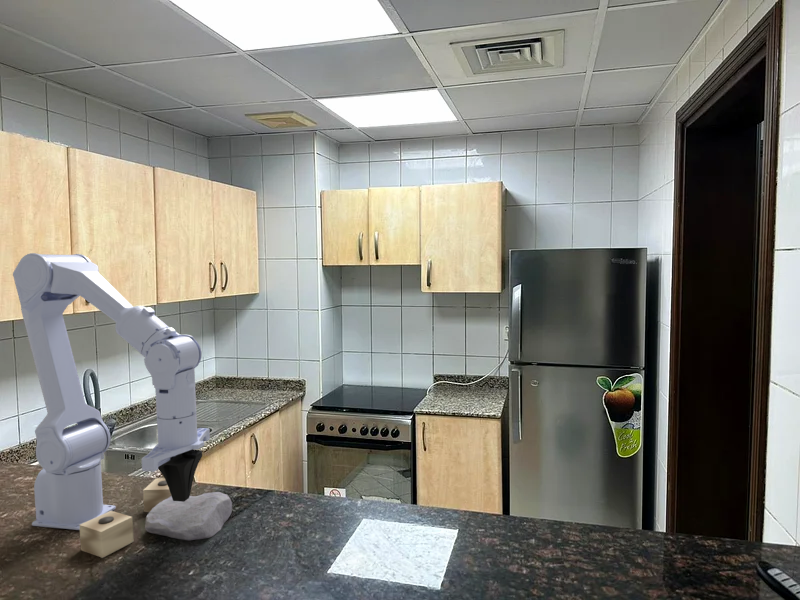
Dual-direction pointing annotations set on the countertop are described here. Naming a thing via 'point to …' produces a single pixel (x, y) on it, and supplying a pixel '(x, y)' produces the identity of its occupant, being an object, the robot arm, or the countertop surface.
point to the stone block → (190, 516)
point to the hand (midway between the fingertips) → (181, 499)
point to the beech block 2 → (155, 493)
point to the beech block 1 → (106, 533)
